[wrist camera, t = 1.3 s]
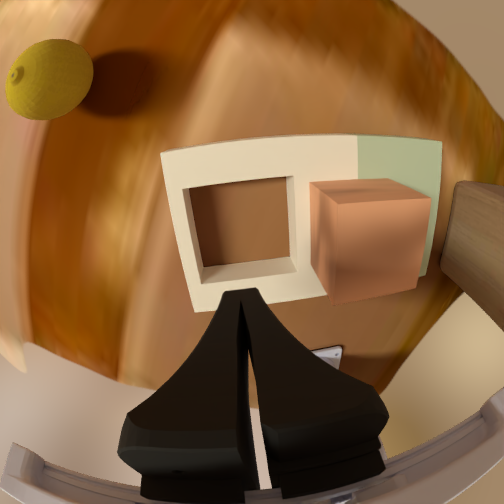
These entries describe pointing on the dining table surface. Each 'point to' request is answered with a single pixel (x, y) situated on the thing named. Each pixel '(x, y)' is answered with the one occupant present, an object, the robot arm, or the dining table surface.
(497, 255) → the wooden block
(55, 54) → the lemon
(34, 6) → the dining table surface
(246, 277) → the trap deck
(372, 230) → the block
